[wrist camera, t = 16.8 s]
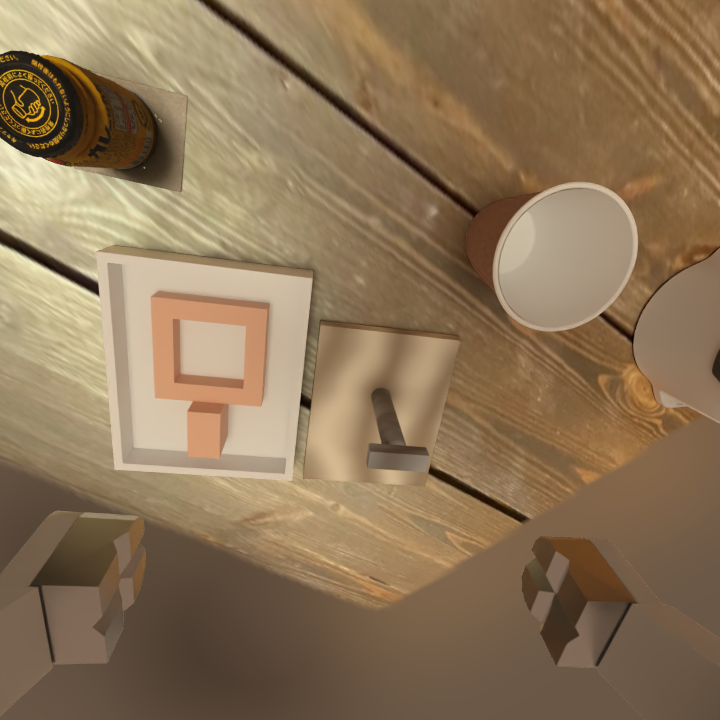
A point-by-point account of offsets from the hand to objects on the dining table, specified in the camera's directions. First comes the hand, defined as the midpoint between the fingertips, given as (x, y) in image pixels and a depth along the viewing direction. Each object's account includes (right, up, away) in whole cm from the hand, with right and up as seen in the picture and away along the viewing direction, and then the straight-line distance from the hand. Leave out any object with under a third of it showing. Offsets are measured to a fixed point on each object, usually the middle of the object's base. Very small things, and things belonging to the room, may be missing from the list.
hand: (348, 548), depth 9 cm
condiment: (-18, +22, +26) cm, 39 cm away
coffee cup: (+14, +15, +32) cm, 38 cm away
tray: (-14, +3, +34) cm, 37 cm away
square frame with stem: (-14, +3, +34) cm, 37 cm away
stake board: (+2, -1, +38) cm, 38 cm away
